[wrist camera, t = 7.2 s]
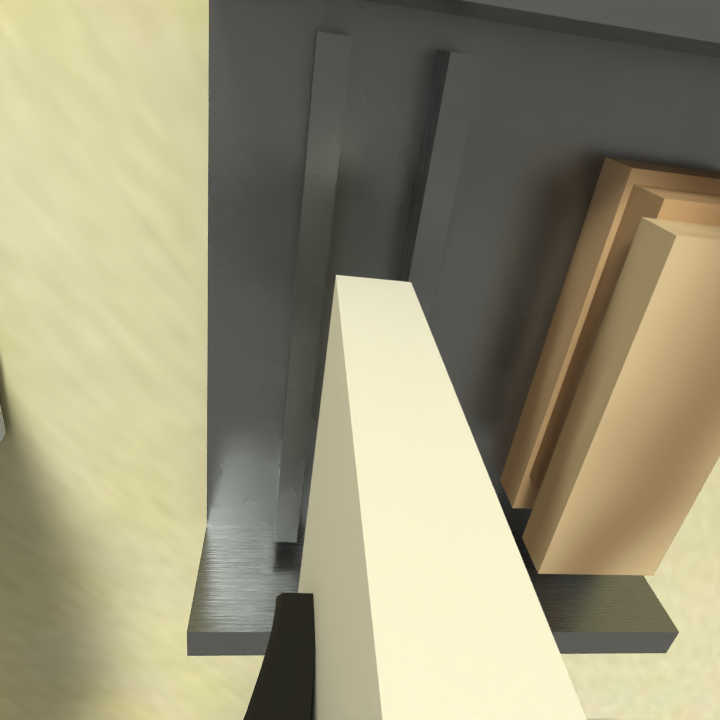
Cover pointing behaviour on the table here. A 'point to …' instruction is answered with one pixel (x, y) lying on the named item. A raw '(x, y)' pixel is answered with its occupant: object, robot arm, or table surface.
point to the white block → (413, 539)
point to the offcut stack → (625, 378)
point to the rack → (416, 240)
